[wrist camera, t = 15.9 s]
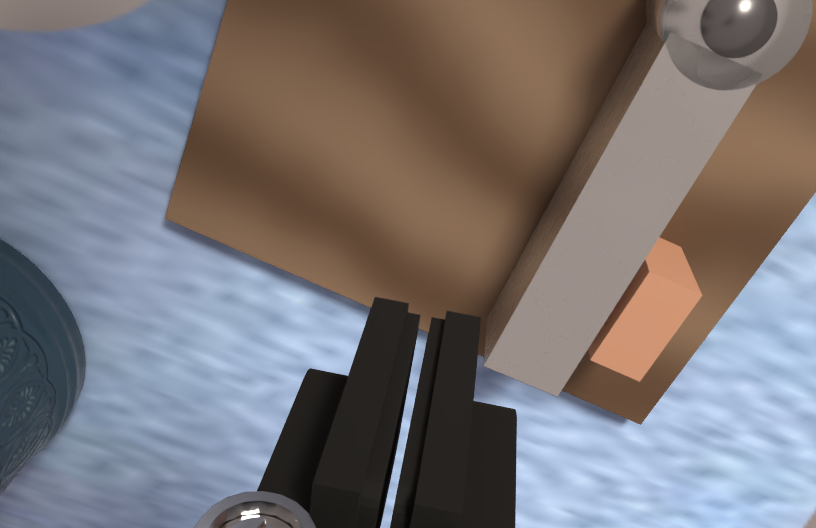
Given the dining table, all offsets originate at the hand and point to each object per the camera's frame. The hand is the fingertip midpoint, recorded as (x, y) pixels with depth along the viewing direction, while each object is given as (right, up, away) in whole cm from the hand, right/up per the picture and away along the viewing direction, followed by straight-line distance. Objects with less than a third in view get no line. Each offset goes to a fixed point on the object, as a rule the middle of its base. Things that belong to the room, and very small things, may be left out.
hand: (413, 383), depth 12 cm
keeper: (+9, +2, +19) cm, 21 cm away
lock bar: (+8, +6, +16) cm, 18 cm away
